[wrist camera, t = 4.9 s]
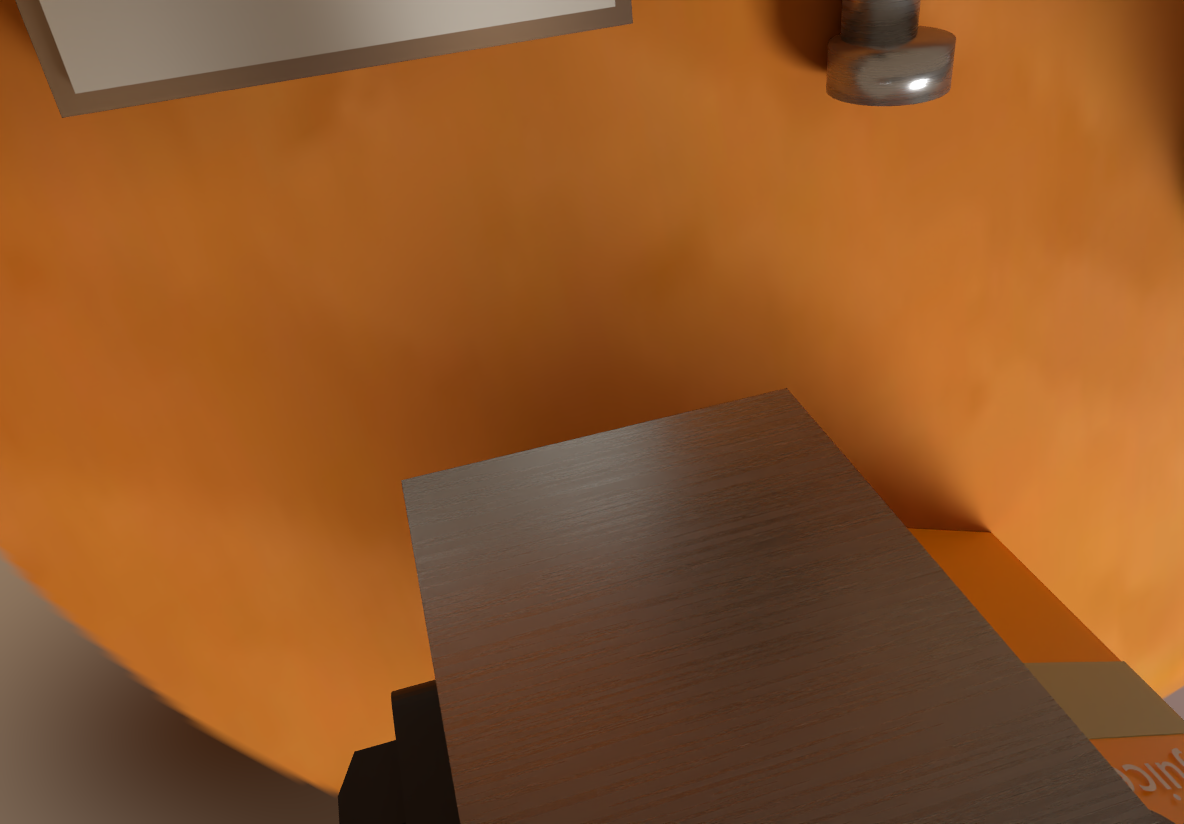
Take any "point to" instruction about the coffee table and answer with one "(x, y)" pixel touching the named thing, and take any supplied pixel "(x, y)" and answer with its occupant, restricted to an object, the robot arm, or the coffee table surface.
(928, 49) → the steel bolt
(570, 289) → the coffee table surface
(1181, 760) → the orange juice
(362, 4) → the stand
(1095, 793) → the block
